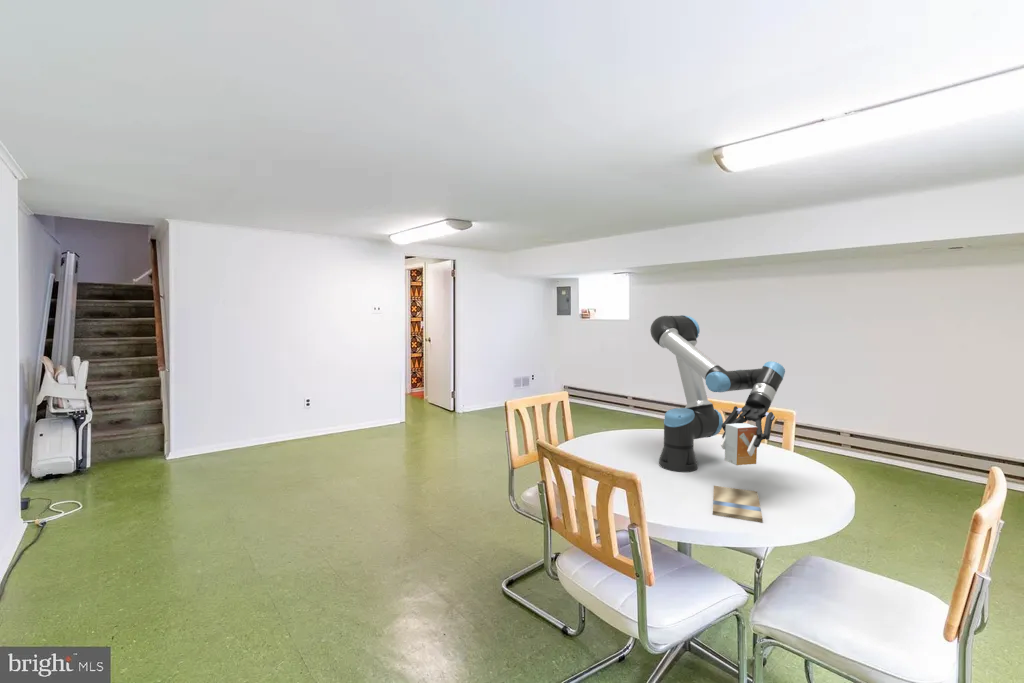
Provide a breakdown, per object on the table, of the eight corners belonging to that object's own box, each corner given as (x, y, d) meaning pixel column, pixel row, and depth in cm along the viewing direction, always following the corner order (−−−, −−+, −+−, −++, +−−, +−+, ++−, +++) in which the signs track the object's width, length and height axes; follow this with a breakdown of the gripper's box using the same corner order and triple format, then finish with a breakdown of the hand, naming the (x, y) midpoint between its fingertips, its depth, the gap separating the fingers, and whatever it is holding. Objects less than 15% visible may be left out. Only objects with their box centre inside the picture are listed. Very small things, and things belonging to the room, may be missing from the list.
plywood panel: (712, 514, 151) (712, 510, 150) (713, 488, 172) (713, 485, 172) (762, 522, 145) (762, 518, 145) (757, 494, 167) (757, 491, 167)
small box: (736, 466, 160) (737, 427, 160) (724, 460, 166) (725, 423, 166) (757, 464, 162) (758, 426, 161) (744, 458, 168) (745, 422, 168)
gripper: (727, 388, 177) (702, 437, 169) (788, 396, 160) (764, 451, 152) (735, 400, 181) (710, 449, 172) (795, 410, 164) (771, 464, 155)
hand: (735, 450), depth 162 cm, fingers closed on small box, 9 cm apart
